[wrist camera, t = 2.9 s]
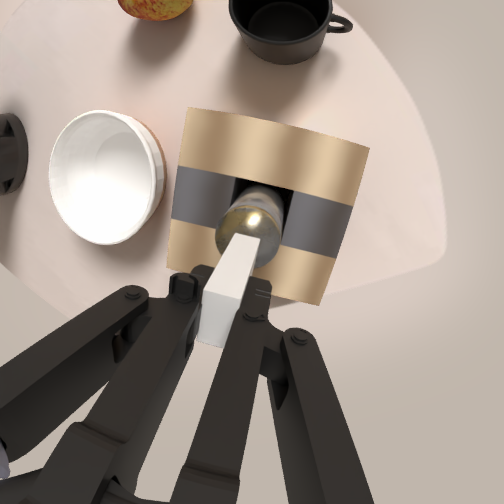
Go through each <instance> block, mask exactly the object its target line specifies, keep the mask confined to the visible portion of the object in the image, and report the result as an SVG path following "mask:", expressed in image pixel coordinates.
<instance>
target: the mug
mask: <svg viewBox="0 0 504 504" xmlns="http://www.w3.org/2000/svg"><path fill="white" fill-rule="evenodd" d="M332 11H333V6H332V0H229V13H230V16H231V19H232V21H233V22H234V24H235V26H236V27H237V29H238V31H239V32H240V34H241V36H242V37H243V39H244V41H245V42H246V44H247V46H248V47H249V48H250V50H251V51H252V52H253V53H254V54H255V55H256V56H258V57H260V58H261V59H263V60H265V61H267V62H271V63H274V64H280V65H289V64H296V63H300V62H302V61H305V60H307V59H309V58H310V57H312V56H313V55H314V54H315V53H316V52H317V51H318V50H319V48H320V47H321V45H322V43H323V40H324V37H325V34H326V33H330V32H331V33H346V32H350V31H351V30H352V28H353V24H352V23H351V22H350V21H349V20H348V19H346V18H344V17H341V16H338V15H335V14H332ZM329 22H337V23H340V24H342V25H344V26H342V27H334V26H330V25H329Z"/></svg>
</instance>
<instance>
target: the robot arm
mask: <svg viewBox="0 0 504 504" xmlns="http://www.w3.org/2000/svg"><path fill="white" fill-rule="evenodd" d="M27 160H28V145H27V138H26V133H25V130H24V127H23V125H22V123H21V121H20V120H19V118H18V117H17V116H15V115H14V114H11V113H5V114H0V195H5V194H8V193H11V192H13V191H15V190H16V189H17V188H18V187H19V186H20V184H21V182H22V180H23V178H24V175H25V172H26V167H27ZM259 243H260V239H259V238H255V237H251V236H246V235H242V234H238V233H235V234H234V236H233V238H232V239H231V241H230V243H229V245H228V247H227V248H226V250H225V252H224V254H223V255H222V257H221V259H220V261H219V262H218V264H217V266H216V268H214V267H210V266H207V265H203V264H200V265H198V266H196V267H194V268H193V269H192V271H191V272H190V273H176V274H173V275H172V276H170V283H169V294H168V296H167V297H166V298H152V297H149V293H148V291H147V290H146V289H144V288H143V287H140V286H136V285H129V286H125V287H122V288H120V289H119V290H117V291H116V292H114V293H112V294H111V295H109V296H108V297H106V298H104V299H103V300H101V301H100V302H98V303H96V304H95V305H93V306H92V307H90V308H89V309H87V310H85V311H84V312H82V313H81V314H79V315H78V316H76V317H75V318H73V319H71V320H70V321H68V322H67V323H65V324H64V325H62V326H61V327H59V328H58V329H56V330H55V331H53V332H52V333H50V334H48V335H47V336H45V337H44V338H43V339H41V340H39V341H38V342H36V343H35V344H34V345H32V346H31V347H29V348H28V349H26V350H25V351H23V352H22V353H20V354H19V355H17V356H16V357H14V358H13V359H12V360H10V361H9V362H7V363H6V364H4V365H3V366H1V367H0V478H3V480H0V504H236V501H237V496H238V492H239V486H240V480H239V475H240V469H241V464H242V460H243V455H244V450H245V445H246V439H247V434H248V430H249V424H250V419H251V414H252V409H253V403H254V398H255V393H256V387H257V381H258V376H259V374H261V375H263V376H265V377H267V385H268V390H269V396H270V402H271V407H272V413H273V419H274V425H275V430H276V436H277V441H278V447H279V452H280V458H281V464H282V469H283V474H284V480H285V485H286V491H287V496H288V502H289V504H374V501H373V498H372V495H371V492H370V489H369V486H368V483H367V481H366V477H365V474H364V471H363V468H362V466H361V463H360V460H359V457H358V454H357V451H356V448H355V446H354V443H353V440H352V437H351V434H350V431H349V428H348V426H347V423H346V420H345V417H344V414H343V412H342V409H341V406H340V403H339V401H338V398H337V395H336V392H335V390H334V387H333V384H332V382H331V379H330V377H329V374H328V371H327V368H326V366H325V363H324V361H323V358H322V355H321V353H320V350H319V347H318V345H317V342H316V339H315V338H314V336H313V335H312V334H311V333H309V332H308V331H306V330H304V329H301V328H289V329H287V330H286V331H285V332H283V331H281V330H279V329H277V328H275V327H274V326H273V325H272V324H271V323H270V322H269V320H268V310H269V304H270V298H271V292H272V285H271V283H270V281H269V280H265V279H261V278H257V277H253V276H252V273H253V268H254V264H255V260H256V256H257V252H258V247H259ZM196 335H197V341H199V342H202V343H206V344H209V345H213V346H216V347H220V348H224V349H223V352H222V356H221V358H220V362H219V365H218V367H217V370H216V374H215V377H214V379H213V382H212V385H211V388H210V391H209V394H208V397H207V400H206V403H205V406H204V409H203V412H202V415H201V418H200V421H199V424H198V427H197V430H196V433H195V436H194V439H193V442H192V445H191V447H190V450H189V453H188V456H187V459H186V462H185V464H184V465H183V466H182V469H181V471H180V474H179V476H178V479H177V482H176V485H175V488H174V491H173V494H172V497H171V499H170V502H161V501H153V500H146V499H141V498H138V497H136V496H135V495H134V493H135V490H136V485H137V478H138V475H139V472H140V470H141V467H142V465H143V463H144V460H145V458H146V456H147V453H148V451H149V449H150V446H151V444H152V442H153V439H154V437H155V434H156V432H157V430H158V428H159V425H160V423H161V421H162V418H163V416H164V414H165V412H166V409H167V407H168V405H169V402H170V400H171V398H172V395H173V393H174V391H175V388H176V386H177V384H178V382H179V379H180V377H181V375H182V373H183V370H184V368H185V366H186V364H187V361H188V359H189V357H190V355H191V353H192V350H193V346H194V340H195V338H196ZM109 380H110V381H109ZM108 381H109V382H108ZM107 382H108V384H107V385H106V387H105V388H104V390H103V391H102V393H101V394H100V396H99V398H98V399H97V401H96V402H95V404H94V406H93V407H92V409H91V410H90V412H89V414H88V415H87V417H86V418H85V419H84V421H82V422H74V423H72V424H71V425H70V426H69V427H68V429H67V430H66V432H65V433H64V435H63V436H62V438H61V439H60V441H59V443H58V444H57V446H56V447H55V449H54V451H53V452H52V454H51V456H50V457H49V459H48V461H47V462H46V464H45V466H44V467H43V468H41V469H38V470H35V471H31V472H28V473H25V474H21V475H18V476H14V477H11V478H8V477H9V475H10V469H9V463H10V462H13V461H15V460H17V459H19V458H20V457H22V456H24V455H25V454H27V453H28V452H29V451H31V450H32V449H33V448H34V447H35V446H37V445H38V444H39V443H40V442H41V441H42V440H43V439H45V438H46V437H47V436H48V435H49V434H50V433H51V432H52V431H53V430H55V429H56V428H57V427H58V426H59V425H60V424H61V423H62V422H64V421H65V420H66V419H67V418H68V417H69V416H70V415H71V414H72V413H74V412H75V411H76V410H77V409H78V408H79V407H80V406H81V405H82V404H83V403H85V402H86V401H87V400H88V399H89V398H90V397H91V396H93V395H94V394H95V393H96V392H97V391H98V390H99V389H100V388H101V387H103V386H104V385H105V384H106V383H107ZM5 478H7V479H5Z"/></svg>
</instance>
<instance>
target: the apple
mask: <svg viewBox="0 0 504 504" xmlns="http://www.w3.org/2000/svg"><path fill="white" fill-rule="evenodd" d="M192 2H193V0H118V3H119V5H120V6H121V8H122V9H123V10H124V11H125V12H126V13H128V14H129V15H131V16H133V17H136V18H140V19H145V20H152V21H162V20H169V19H172V18H174V17H177V16H178V15H180V14H182V13H183V12H184V11H185V10H187V9H188V8H189V7H190V6H191V4H192Z"/></svg>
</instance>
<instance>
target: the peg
mask: <svg viewBox="0 0 504 504" xmlns="http://www.w3.org/2000/svg"><path fill="white" fill-rule="evenodd" d="M283 213H284V201H283V198H282V196H281V194H280V192H279V191H278V190H277V189H276V188H274V187H273V186H271V185H269V184H265V183H256V184H252V185H250V186H248V187H247V188H245V189H244V190H243V192H242V193H241V194H240V195H239V197H238V198H237V199H236V201H235V202H234V203H233V204H232V206H231V207H230V208H229V209H228V211H227V212H226V213H225V215H224V216H223V217H222V218H221V220H220V221H219V223H218V225H217V227H216V231H215V243H216V246H217V249H218V251H219V253H220V254H221V256H222V255H223V254H224V252H225V250H226V248H227V247H228V245H229V243H230V241H231V239H232V238H233V236H234V234H235V233H238V234H242V235H246V236H251V237H255V238H259V239H260V243H259V247H258V252H257V256H256V260H255V264H254V268H253V269H255V268H259V267H262V266H264V265H266V264H268V263H269V262H270V261H271V260H272V259H273V258H274V257H275V255H276V253H277V252H278V249H279V245H280V237H281V229H282V221H283Z"/></svg>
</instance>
